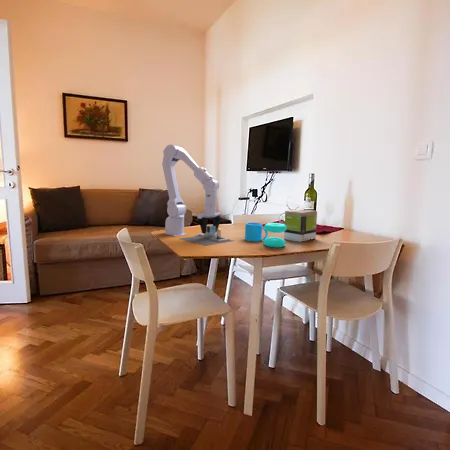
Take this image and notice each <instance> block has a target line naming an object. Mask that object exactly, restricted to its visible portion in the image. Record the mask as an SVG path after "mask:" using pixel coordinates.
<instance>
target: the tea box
mask: <svg viewBox="0 0 450 450" xmlns="http://www.w3.org/2000/svg"><path fill="white" fill-rule="evenodd" d="M317 218H318V211H317V210H312V209H302V208H300V209H292V210H285V211H284V225H286V227H287V229H286V231H284V232H283V240H287V241H292V242H297V241H298V243H301V242H305V241H310V239H311V240H314V239H315V238H317V225H318V224H317V221H318V219H317ZM315 240H316V239H315Z"/></svg>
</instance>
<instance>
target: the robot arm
mask: <svg viewBox="0 0 450 450" xmlns="http://www.w3.org/2000/svg"><path fill="white" fill-rule="evenodd" d="M162 153H163V157H162V161H161V164H162V165H161V166H162V169H163V175H164V180H165V186H166V189H167V194H168V200H167V203H166V205H167V208H166V209H167V211H166V212H167V215H168V217H166V218H165V223H164V224H165V229H164V230H165V232H163V234H164V235H170V236H172V237H178V236H185V235H187V236H188V233H185V232H184V231H185V230H184V229H185V214H186V213H187V210H188V209H187V206H186V205H185V203H184V200H183V198H182V197H181V194H180V190H179V185H178V180H177V176H176V175H177V174H176V170H175V165H176V164H177V162H179V161H183V162H184V163H185V164H186V165H187V166H188V167H189V168H190V169H191V170H192V171H193V176H194V177H195V178H196V179H197V180H198V181H199V183H200V184H201V185H202V187H203V190H204V209H203V210H204V212H202V213H197V221H198V224H199V226H200V230H201V233H202V234H204V233H206V227H207V225H208V222H209V219H208V218H211V221H212V225H214V226H216V233H217V229H219V226H220V224H221V222H222V220H223V213H222V212H217V202H218V201H217V200H218V190H219V188H220V183H219V181H218V180H217V179H215V178H214V176H213V175H210V173H209V172H208V170H207V168H206V167H201V166H199V165H198V164H197V163H196V161H195V160H194V159H193V158H192V157H191V156H190V154H189V153H188V151H187V150H185V149H184V147H182V146H180V145H173V144H168V145H166V146H165V148H164V149H163V150H162Z"/></svg>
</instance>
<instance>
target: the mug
mask: <svg viewBox="0 0 450 450" xmlns="http://www.w3.org/2000/svg"><path fill="white" fill-rule="evenodd" d="M244 224H245V225H244V226H245V228H244V240H245V241H247V242H262V241H264V240H265V239H266V238H268V237H269V236H268V231H266V230H265V228H264V226H263V224H262V223H260V222H246V223H244ZM263 231H264V233H265V236H264V238H263V237H262V235H263Z"/></svg>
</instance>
